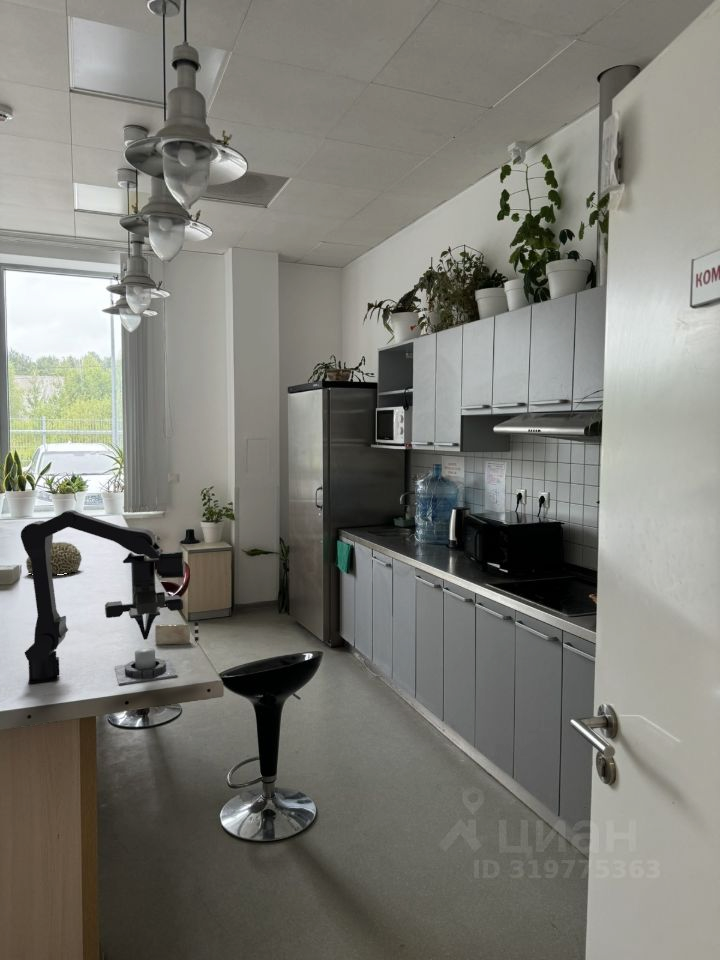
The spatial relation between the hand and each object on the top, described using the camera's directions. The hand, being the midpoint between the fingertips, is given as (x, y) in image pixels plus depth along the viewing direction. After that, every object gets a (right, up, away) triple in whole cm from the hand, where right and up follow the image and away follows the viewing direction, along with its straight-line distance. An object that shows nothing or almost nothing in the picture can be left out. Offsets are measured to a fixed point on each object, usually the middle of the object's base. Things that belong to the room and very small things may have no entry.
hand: (145, 639), depth 172 cm
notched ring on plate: (0, -9, 0) cm, 9 cm away
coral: (-84, -2, +132) cm, 156 cm away
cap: (0, -8, 0) cm, 8 cm away
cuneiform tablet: (+1, -8, +26) cm, 27 cm away
